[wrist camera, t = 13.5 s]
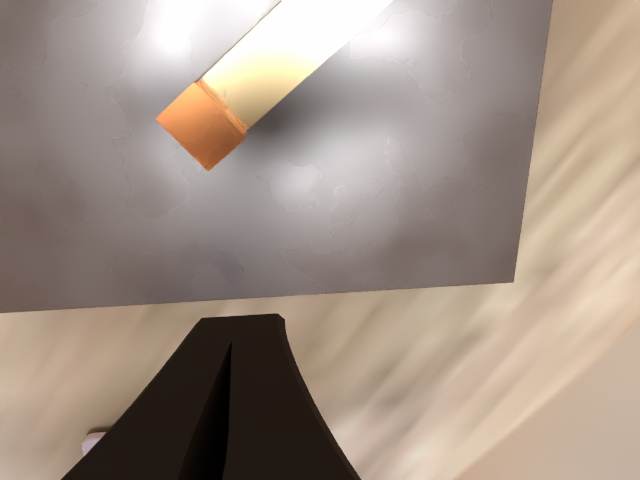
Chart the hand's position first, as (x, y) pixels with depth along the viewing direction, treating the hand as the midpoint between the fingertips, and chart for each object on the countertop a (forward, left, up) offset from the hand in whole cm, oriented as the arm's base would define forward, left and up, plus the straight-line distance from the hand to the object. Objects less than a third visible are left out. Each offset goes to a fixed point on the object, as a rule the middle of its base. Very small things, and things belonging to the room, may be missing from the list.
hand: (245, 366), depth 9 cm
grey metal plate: (+3, +1, -9) cm, 10 cm away
